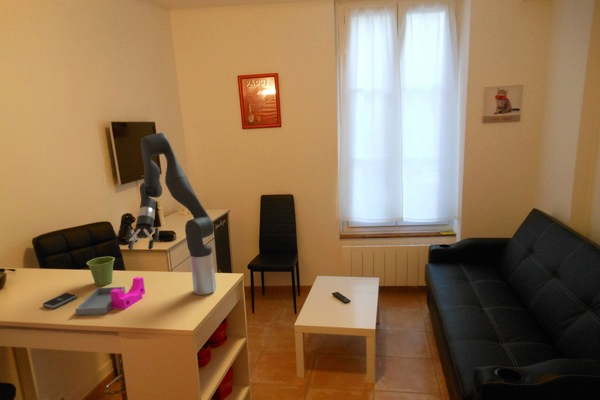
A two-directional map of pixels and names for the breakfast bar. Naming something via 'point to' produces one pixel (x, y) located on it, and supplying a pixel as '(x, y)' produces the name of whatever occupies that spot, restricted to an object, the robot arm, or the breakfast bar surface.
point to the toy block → (128, 294)
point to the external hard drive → (59, 300)
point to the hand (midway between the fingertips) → (140, 249)
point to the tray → (97, 302)
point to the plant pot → (102, 270)
